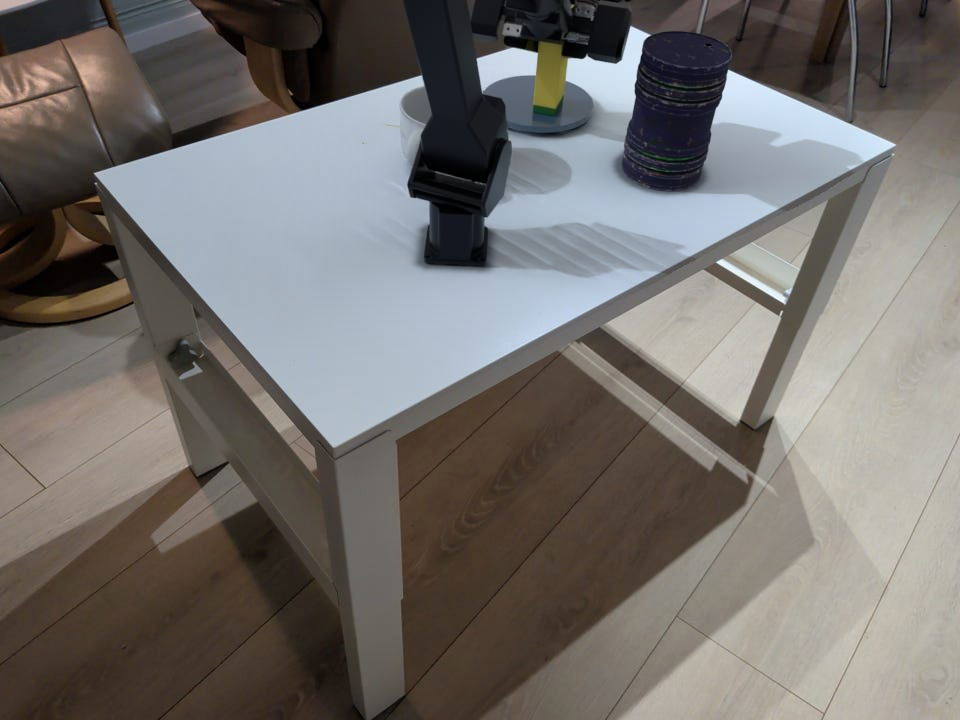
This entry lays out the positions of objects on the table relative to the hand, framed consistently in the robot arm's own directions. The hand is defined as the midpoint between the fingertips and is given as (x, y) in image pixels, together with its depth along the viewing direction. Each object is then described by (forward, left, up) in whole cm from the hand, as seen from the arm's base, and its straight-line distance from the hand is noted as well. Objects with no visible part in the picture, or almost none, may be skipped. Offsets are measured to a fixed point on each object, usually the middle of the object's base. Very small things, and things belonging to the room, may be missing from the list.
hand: (555, 52), depth 101 cm
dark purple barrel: (-13, -13, -8) cm, 21 cm away
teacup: (-16, +14, -8) cm, 23 cm away
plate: (+1, +2, -8) cm, 8 cm away
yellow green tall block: (-1, 0, -7) cm, 7 cm away
